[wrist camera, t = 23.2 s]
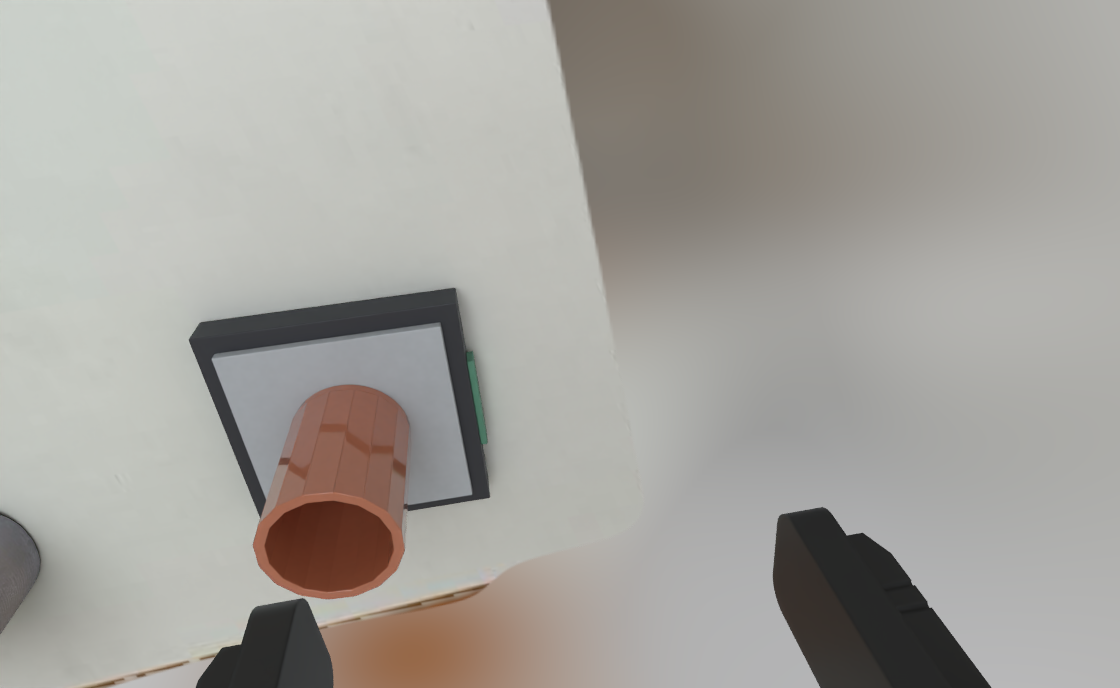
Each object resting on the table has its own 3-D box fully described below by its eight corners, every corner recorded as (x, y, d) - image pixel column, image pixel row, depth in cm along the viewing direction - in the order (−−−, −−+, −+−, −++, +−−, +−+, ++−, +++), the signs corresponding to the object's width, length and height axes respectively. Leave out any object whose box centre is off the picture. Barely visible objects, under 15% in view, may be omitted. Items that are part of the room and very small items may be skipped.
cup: (306, 371, 37) (270, 479, 29) (425, 400, 39) (421, 509, 31) (280, 464, 40) (241, 586, 32) (393, 487, 42) (381, 608, 34)
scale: (462, 286, 39) (463, 306, 37) (494, 476, 46) (496, 503, 44) (199, 322, 38) (184, 345, 35) (273, 512, 45) (264, 541, 42)
